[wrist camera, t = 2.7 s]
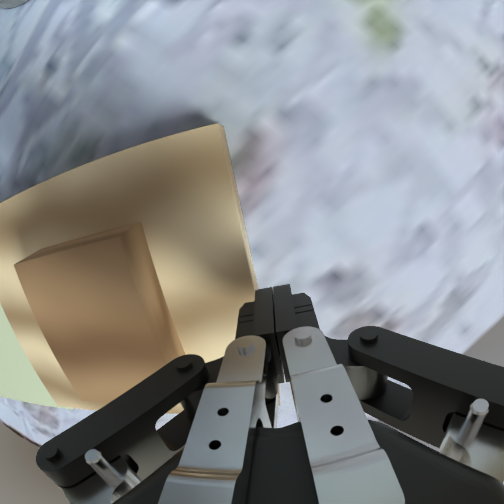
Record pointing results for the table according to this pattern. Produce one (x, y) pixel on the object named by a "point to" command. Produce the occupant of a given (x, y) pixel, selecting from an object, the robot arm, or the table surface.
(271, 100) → the table surface
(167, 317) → the walnut slab
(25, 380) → the sage mat
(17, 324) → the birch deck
